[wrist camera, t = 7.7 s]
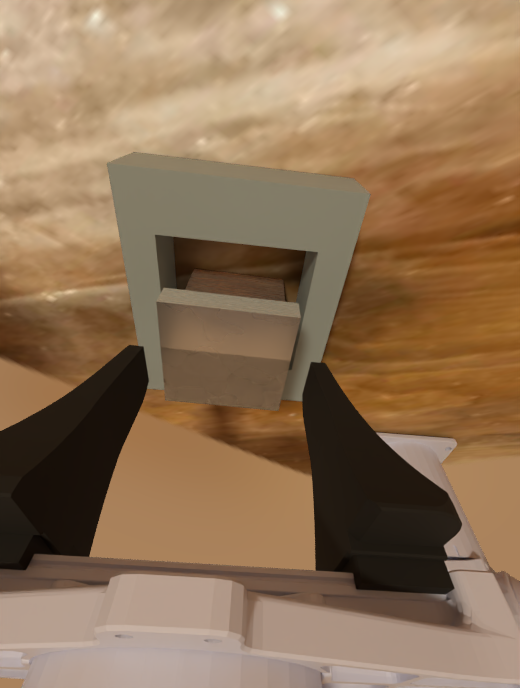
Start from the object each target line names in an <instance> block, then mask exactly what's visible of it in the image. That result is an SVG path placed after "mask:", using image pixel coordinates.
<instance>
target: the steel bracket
mask: <svg viewBox="0 0 520 688" xmlns="http://www.w3.org/2000/svg"><path fill="white" fill-rule="evenodd" d="M156 304H157V315H158V326H159V337H160V347H161V358H162V369H163V380H164V390H165V400H169V401H179V402H190V403H200V404H211V405H222V406H232V407H243V408H253V409H264V410H274V411H278V410H279V406H280V402H281V398H282V394H283V390H284V385H285V381H286V377H287V373H288V369H289V365H290V361H291V357H292V352H293V348H294V344H295V340H296V336H297V332H298V328H299V324H300V319H301V316H300V309H299V303H292V302H285V294H284V283H283V279H276V278H268V277H260V276H251V275H243V274H235V273H227V272H218V271H210V270H202V269H194V270H193V273H192V275H191V277H190V280H189V282H188V284H187V286H186V289H185V290H180V289H172V288H163V290H162V292H161V294H160V296H159V297H158V299H157V301H156Z"/></svg>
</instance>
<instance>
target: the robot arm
mask: <svg viewBox="0 0 520 688" xmlns="http://www.w3.org/2000/svg"><path fill="white" fill-rule="evenodd" d="M148 383H149V377H148V371H147V365H146V359H145V352H144V346H134V345H129V346H127V347H126V348H125V349H124V350H122V351H121V352H120V353H119V354H118V355H117V356H115V357H114V358H113V359H112V360H111V361H109V362H108V363H107V364H106V365H105V366H103V367H102V368H101V369H100V370H99V371H97V372H96V373H95V374H94V375H92V376H91V377H90V378H89V379H87V380H86V381H85V382H83V383H82V384H80V385H79V386H78V387H76V388H75V389H74V390H73V391H71V392H69V393H68V394H67V395H65V396H64V397H62V398H60V399H59V400H57V401H56V402H54V403H52V404H51V405H49V406H47V407H46V408H44V409H42V410H41V411H39V412H37V413H35V414H33V415H31V416H30V417H28V418H26V419H24V420H22V421H20V422H19V423H16V424H15V425H12V426H10V427H8V428H6V429H4V430H2V431H0V677H2V678H14V679H25V680H24V682H23V685H22V687H21V688H520V581H518V580H517V579H515V578H513V577H511V576H510V575H509V574H508V573H506V572H504V571H501V572H498V573H496V572H495V571H494V570H493V569H492V568H491V567H490V566H489V564H488V562H487V559H486V557H485V555H484V553H483V551H482V549H481V547H480V545H479V543H478V541H477V538H476V536H475V534H474V532H473V530H472V528H471V526H470V524H469V522H468V520H467V517H466V515H465V513H464V511H463V509H462V507H461V506H460V503H459V501H458V499H457V497H456V495H455V492H454V490H453V488H452V486H451V484H450V482H449V480H448V478H447V476H446V474H445V471H444V469H443V467H442V465H441V463H442V462H443V461H444V460H445V459H446V457H447V456H448V455H449V454H450V453H451V451H452V450H453V449H454V448H455V447H456V445H457V443H456V441H455V439H452V438H441V437H429V436H416V435H403V434H391V433H378V432H375V431H374V430H373V429H372V428H371V427H370V426H369V425H368V424H367V422H366V421H365V420H364V419H363V418H362V416H361V415H360V414H359V413H358V411H357V410H356V409H355V407H354V406H353V405H352V403H351V402H350V401H349V399H348V398H347V396H346V395H345V393H344V392H343V391H342V389H341V388H340V386H339V385H338V383H337V381H336V380H335V378H334V377H333V375H332V373H331V372H330V370H329V368H328V367H327V365H326V364H325V363H318V362H311V364H310V367H309V371H308V375H307V378H306V382H305V386H304V390H303V393H302V403H303V418H304V424H305V431H306V437H307V443H308V449H309V455H310V461H311V469H312V481H313V496H314V497H313V498H314V520H315V553H316V554H315V559H316V571H313V570H296V569H278V568H262V567H245V566H229V565H213V564H197V563H179V562H164V561H146V560H129V559H113V558H97V557H89V555H90V551H91V547H92V543H93V539H94V536H95V532H96V528H97V524H98V521H99V517H100V514H101V510H102V507H103V503H104V500H105V497H106V494H107V490H108V487H109V484H110V481H111V478H112V474H113V471H114V469H115V466H116V463H117V459H118V457H119V454H120V452H121V449H122V446H123V444H124V442H125V440H126V438H127V436H128V434H129V431H130V429H131V427H132V424H133V423H134V420H135V418H136V416H137V414H138V412H139V409H140V407H141V405H142V403H143V400H144V397H145V393H146V390H147V386H148Z"/></svg>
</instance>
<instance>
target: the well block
mask: <svg viewBox="0 0 520 688" xmlns="http://www.w3.org/2000/svg"><path fill="white" fill-rule="evenodd" d="M107 166H108V172H109V178H110V184H111V189H112V195H113V201H114V207H115V213H116V218H117V224H118V230H119V236H120V241H121V247H122V253H123V259H124V264H125V270H126V276H127V282H128V288H129V293H130V299H131V305H132V311H133V316H134V322H135V328H136V334H137V339H138V345H139V346H144V352H145V359H146V365H147V371H148V377H149V383H148V386H147V388H148V389H160V390H164V380H163V369H162V358H161V347H160V337H159V326H158V315H157V304H156V301H157V299H158V297H159V296H160V294H161V292H162V290H163V288H172V289H177V284H176V269H175V254H174V239H173V237H182V238H191V239H200V240H210V241H219V242H228V243H237V244H247V245H256V246H265V247H275V248H284V249H293V250H303V251H306V255H305V260H304V265H303V270H302V275H301V280H300V285H299V290H298V295H297V300H296V303H299V309H300V316H301V319H300V324H299V328H298V332H297V336H296V340H295V344H294V348H293V352H292V357H291V361H290V365H289V369H288V373H287V377H286V381H285V385H284V390H283V394H282V398H281V400H292V401H302V393H303V390H304V386H305V382H306V378H307V375H308V371H309V367H310V364H311V362H318V363H321V360H322V356H323V353H324V349H325V346H326V343H327V339H328V336H329V333H330V329H331V326H332V323H333V319H334V316H335V312H336V309H337V306H338V302H339V299H340V296H341V292H342V289H343V285H344V282H345V279H346V275H347V272H348V269H349V265H350V262H351V258H352V255H353V252H354V248H355V245H356V242H357V238H358V235H359V231H360V228H361V225H362V221H363V218H364V215H365V211H366V208H367V204H368V201H369V198H370V193H369V192H368V191H367V190H366V189H365V188H363V187H362V186H361V185H360V184H359V183H358V182H357V181H356V180H355V179H354V178H345V177H337V176H329V175H320V174H312V173H304V172H295V171H287V170H279V169H270V168H262V167H254V166H245V165H237V164H229V163H220V162H212V161H204V160H195V159H187V158H179V157H170V156H162V155H154V154H145V153H137V152H133V153H131V154H128V155H126V156H123V157H121V158H118V159H116V160H113V161H111V162H108V163H107Z"/></svg>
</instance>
